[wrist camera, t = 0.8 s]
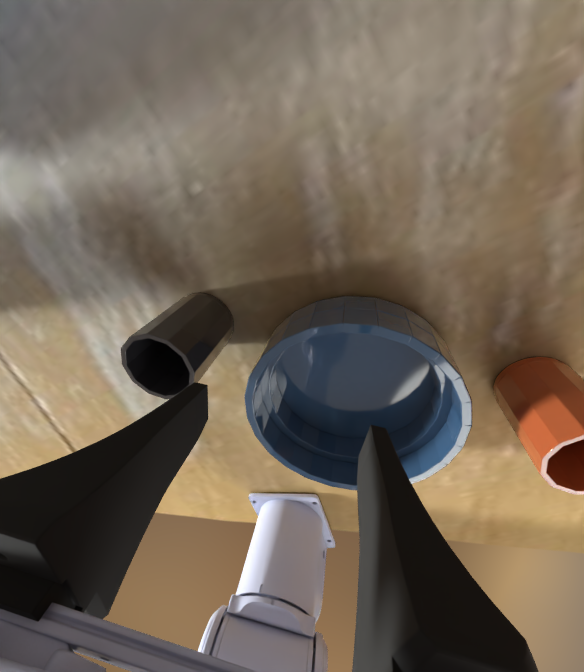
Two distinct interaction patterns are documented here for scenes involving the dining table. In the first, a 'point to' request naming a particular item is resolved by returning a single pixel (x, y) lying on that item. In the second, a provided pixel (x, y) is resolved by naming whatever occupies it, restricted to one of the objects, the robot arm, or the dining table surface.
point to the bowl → (357, 390)
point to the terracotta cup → (547, 417)
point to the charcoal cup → (178, 345)
